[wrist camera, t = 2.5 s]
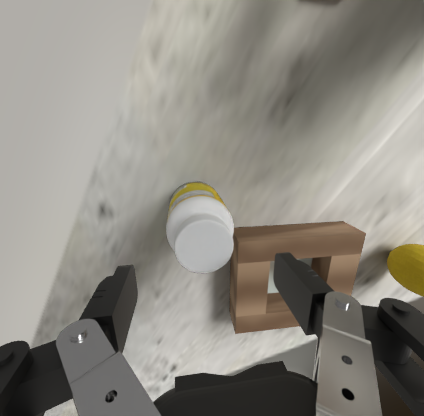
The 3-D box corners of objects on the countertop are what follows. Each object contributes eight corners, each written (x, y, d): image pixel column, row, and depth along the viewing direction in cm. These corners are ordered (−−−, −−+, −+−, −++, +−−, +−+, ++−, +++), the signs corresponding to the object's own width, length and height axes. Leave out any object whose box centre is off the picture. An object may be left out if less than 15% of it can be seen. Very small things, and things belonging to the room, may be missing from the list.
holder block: (231, 227, 25) (238, 242, 21) (343, 221, 26) (365, 233, 23) (229, 310, 29) (235, 333, 25) (327, 300, 30) (344, 320, 27)
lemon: (369, 273, 30) (432, 320, 22) (374, 237, 28) (445, 275, 20) (406, 266, 30) (480, 309, 23) (413, 230, 28) (497, 264, 21)
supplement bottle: (219, 226, 25) (241, 281, 15) (171, 228, 24) (164, 286, 15) (220, 179, 23) (246, 208, 14) (168, 180, 22) (158, 211, 13)
